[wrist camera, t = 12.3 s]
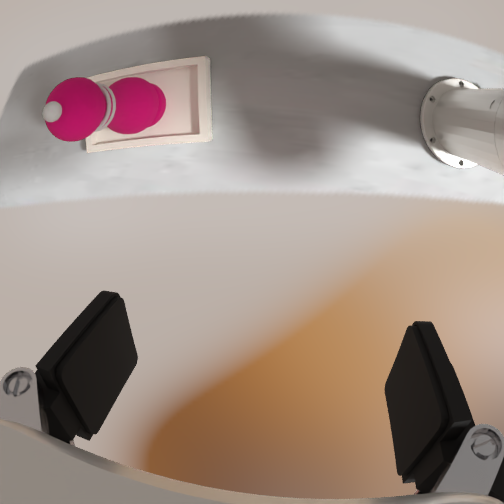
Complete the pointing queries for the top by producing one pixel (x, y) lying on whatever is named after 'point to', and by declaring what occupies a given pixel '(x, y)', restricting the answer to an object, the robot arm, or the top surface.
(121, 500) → the robot arm
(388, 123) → the top surface
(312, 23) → the top surface
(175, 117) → the tray
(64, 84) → the pepper mill
